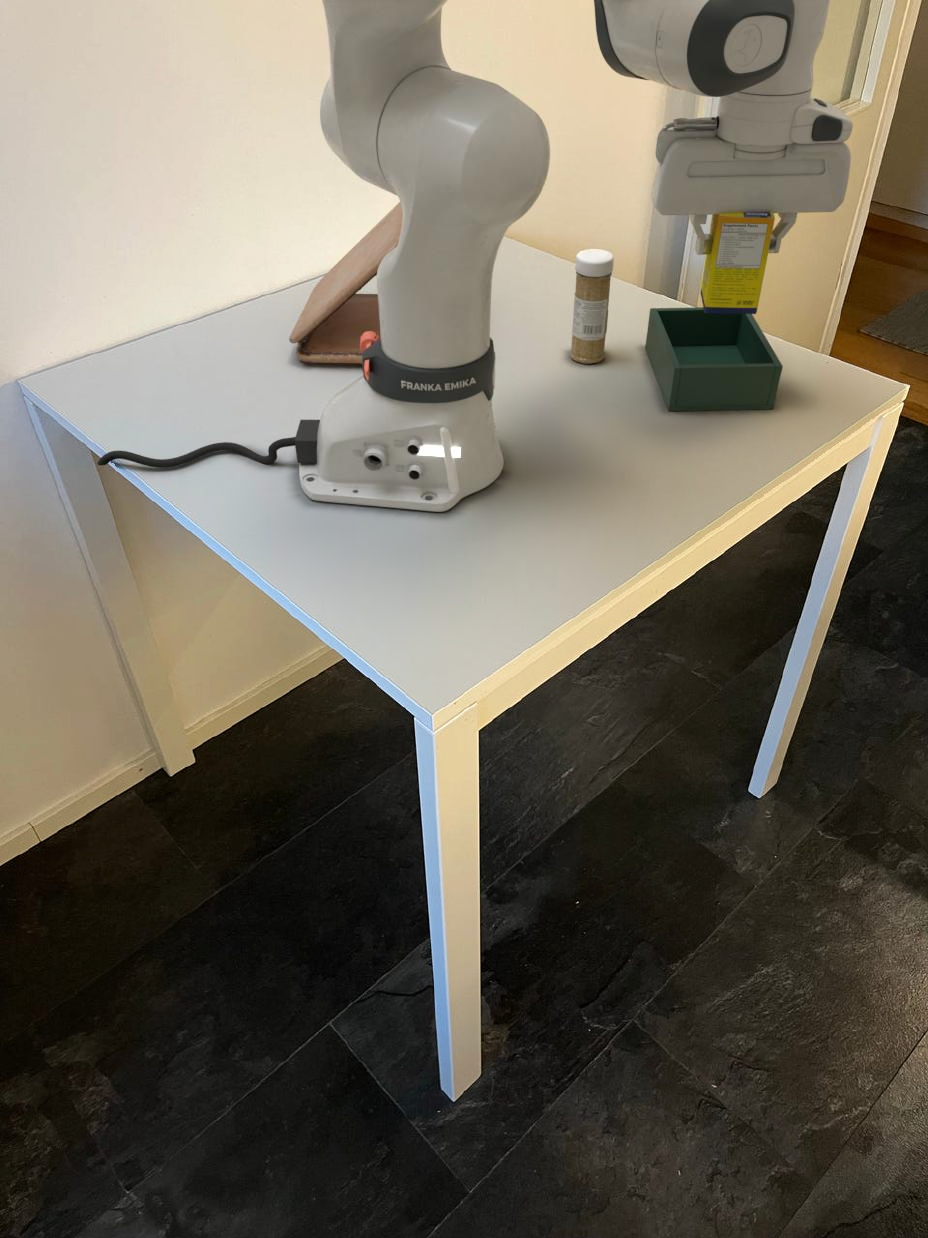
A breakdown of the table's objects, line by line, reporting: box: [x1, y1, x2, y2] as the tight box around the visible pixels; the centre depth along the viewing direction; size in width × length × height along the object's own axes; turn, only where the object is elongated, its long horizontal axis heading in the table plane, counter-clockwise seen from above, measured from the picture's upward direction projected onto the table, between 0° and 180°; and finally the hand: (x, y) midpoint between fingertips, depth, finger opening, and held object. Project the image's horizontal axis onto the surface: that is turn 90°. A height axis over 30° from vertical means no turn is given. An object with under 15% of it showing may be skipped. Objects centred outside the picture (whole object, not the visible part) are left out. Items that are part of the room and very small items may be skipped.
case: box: [288, 201, 403, 364], centre depth 126 cm, size 20×21×16 cm
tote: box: [644, 306, 784, 412], centre depth 119 cm, size 13×17×6 cm
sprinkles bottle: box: [569, 248, 614, 365], centre depth 121 cm, size 5×5×13 cm
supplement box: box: [700, 212, 776, 315], centre depth 107 cm, size 6×6×11 cm
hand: (736, 252), depth 107 cm, fingers closed on supplement box, 6 cm apart
